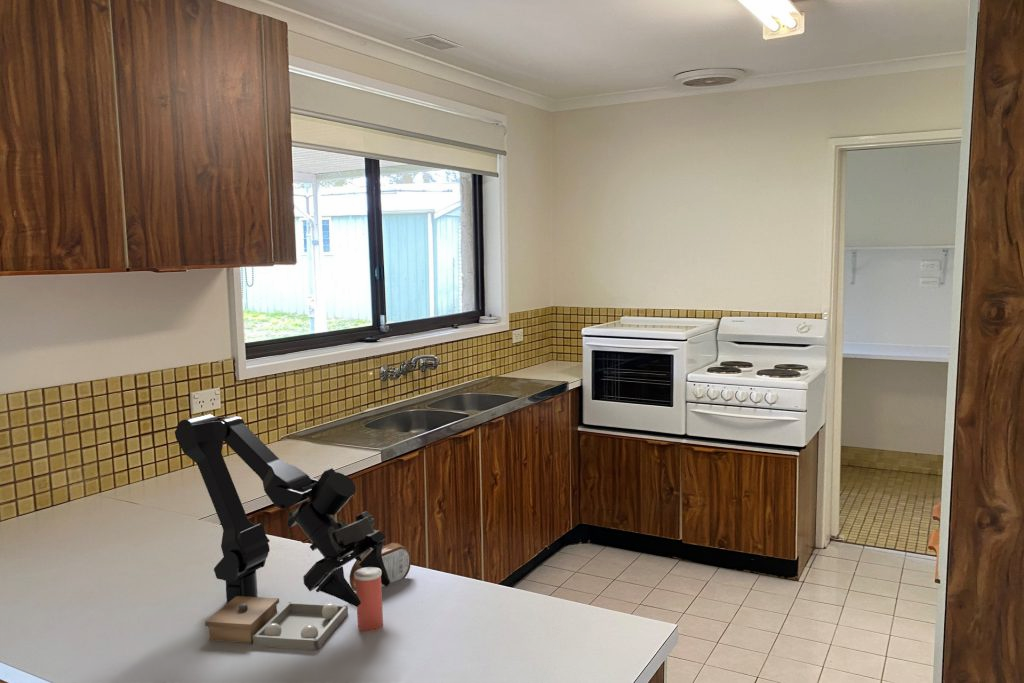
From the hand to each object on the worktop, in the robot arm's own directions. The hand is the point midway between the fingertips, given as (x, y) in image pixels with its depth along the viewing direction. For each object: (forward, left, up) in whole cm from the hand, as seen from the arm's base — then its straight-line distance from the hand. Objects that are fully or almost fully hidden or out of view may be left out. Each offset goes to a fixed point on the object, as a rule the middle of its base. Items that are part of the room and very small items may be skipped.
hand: (374, 594), depth 145 cm
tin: (-18, -5, -7) cm, 20 cm away
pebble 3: (-2, -10, -6) cm, 12 cm away
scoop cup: (0, -1, -7) cm, 7 cm away
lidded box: (+4, -24, -7) cm, 25 cm away
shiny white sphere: (+7, -17, -6) cm, 19 cm away
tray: (+3, -13, -7) cm, 15 cm away
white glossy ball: (+7, -10, -6) cm, 13 cm away
